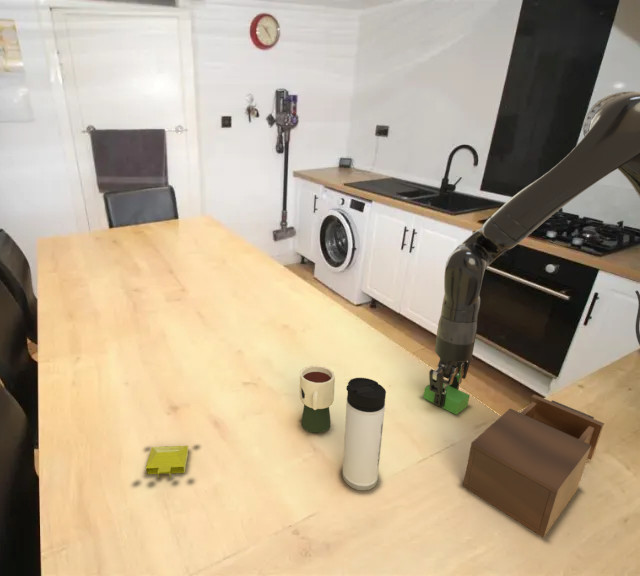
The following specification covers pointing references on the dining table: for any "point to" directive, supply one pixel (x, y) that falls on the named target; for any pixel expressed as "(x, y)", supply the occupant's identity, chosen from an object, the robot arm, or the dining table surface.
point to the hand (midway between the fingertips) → (445, 400)
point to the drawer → (565, 420)
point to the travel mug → (363, 433)
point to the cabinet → (526, 469)
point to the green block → (450, 399)
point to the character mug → (316, 397)
